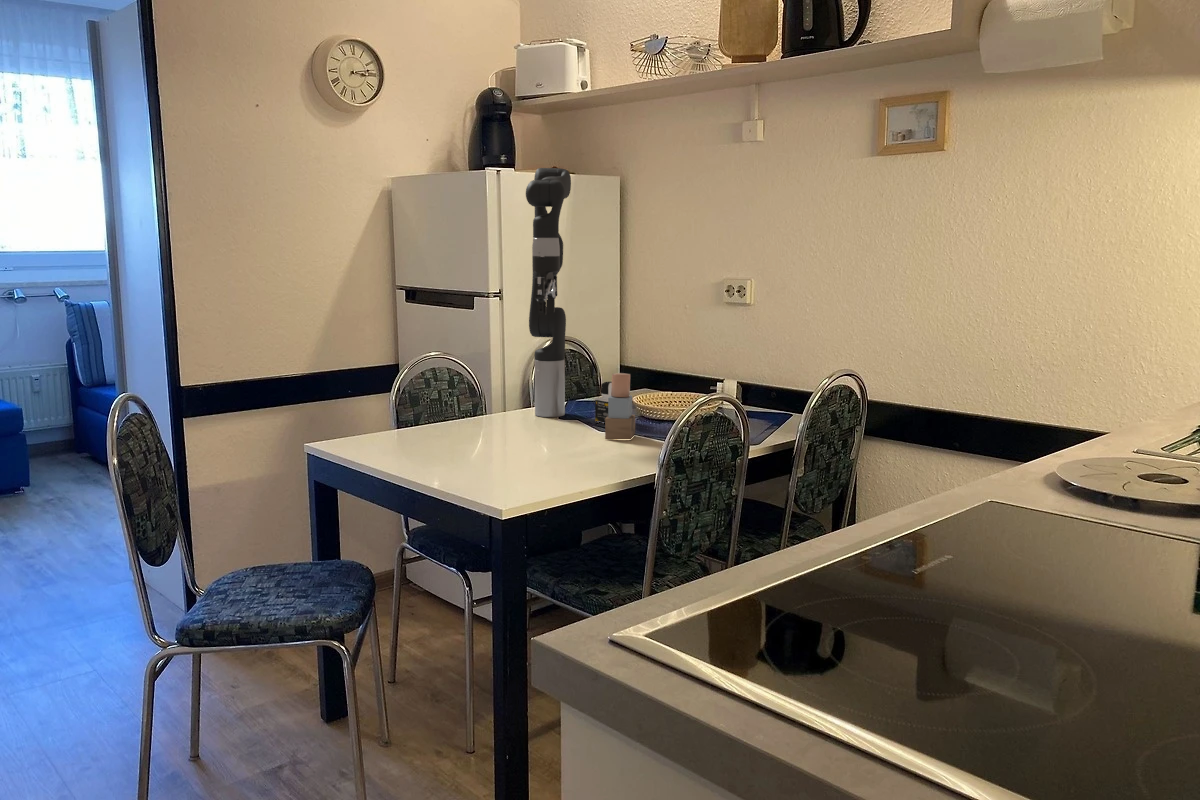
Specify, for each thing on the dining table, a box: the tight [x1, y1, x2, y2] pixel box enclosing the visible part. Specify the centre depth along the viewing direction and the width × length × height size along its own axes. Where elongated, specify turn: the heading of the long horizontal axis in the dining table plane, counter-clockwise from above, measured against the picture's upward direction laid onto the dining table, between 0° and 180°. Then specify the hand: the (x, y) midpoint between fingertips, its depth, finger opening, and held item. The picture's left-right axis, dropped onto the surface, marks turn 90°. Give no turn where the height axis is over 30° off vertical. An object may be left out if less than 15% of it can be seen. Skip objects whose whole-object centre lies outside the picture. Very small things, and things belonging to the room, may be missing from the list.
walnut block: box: [604, 414, 636, 439], centre depth 258 cm, size 7×7×6 cm
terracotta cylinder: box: [611, 372, 631, 397], centre depth 256 cm, size 5×5×6 cm
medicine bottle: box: [594, 381, 612, 422], centre depth 280 cm, size 7×7×12 cm
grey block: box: [608, 395, 633, 419], centre depth 257 cm, size 6×6×6 cm
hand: (546, 313), depth 263 cm, fingers open, 8 cm apart
